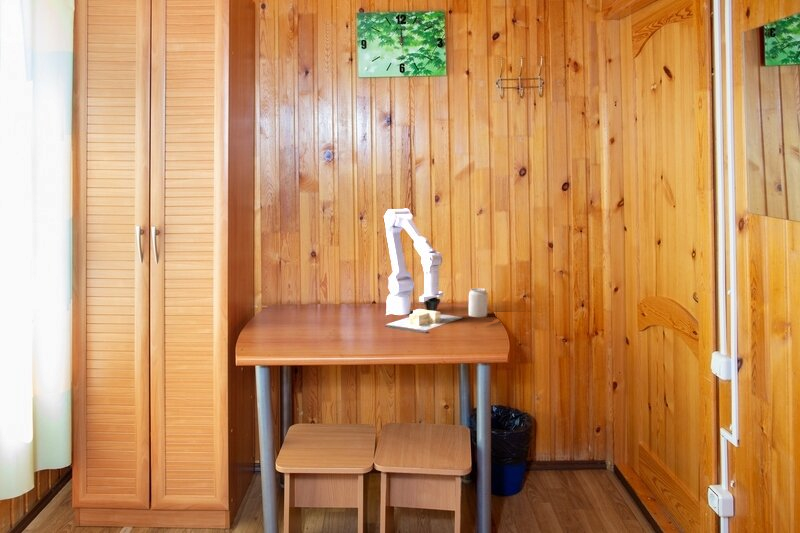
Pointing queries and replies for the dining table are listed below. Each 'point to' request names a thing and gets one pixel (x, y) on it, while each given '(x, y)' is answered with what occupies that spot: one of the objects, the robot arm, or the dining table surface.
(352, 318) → the dining table surface
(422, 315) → the block
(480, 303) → the can
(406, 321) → the board
